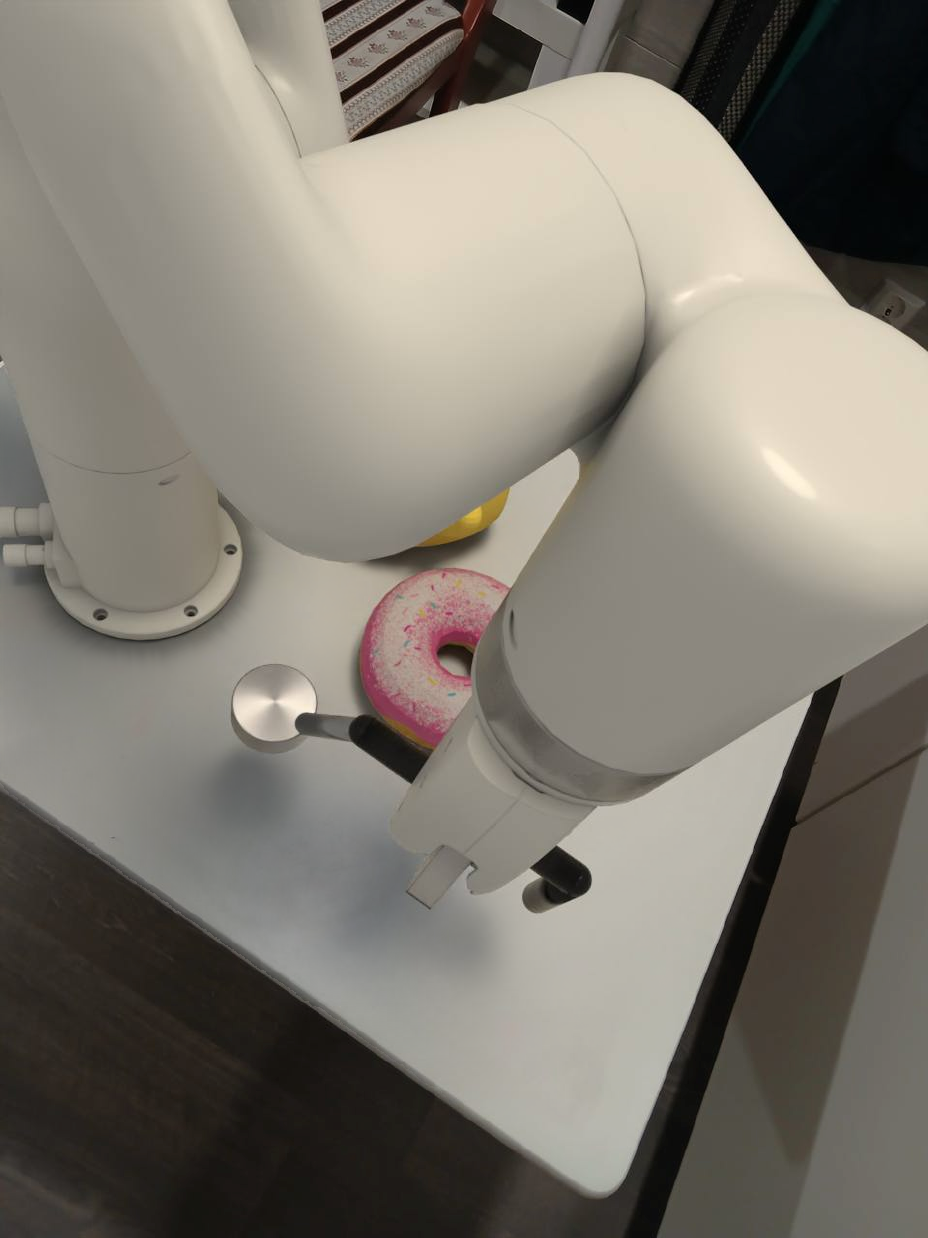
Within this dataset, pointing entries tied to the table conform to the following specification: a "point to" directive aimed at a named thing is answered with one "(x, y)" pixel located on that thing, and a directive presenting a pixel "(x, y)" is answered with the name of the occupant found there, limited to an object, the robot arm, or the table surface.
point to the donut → (425, 648)
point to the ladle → (287, 713)
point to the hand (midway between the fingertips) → (453, 819)
